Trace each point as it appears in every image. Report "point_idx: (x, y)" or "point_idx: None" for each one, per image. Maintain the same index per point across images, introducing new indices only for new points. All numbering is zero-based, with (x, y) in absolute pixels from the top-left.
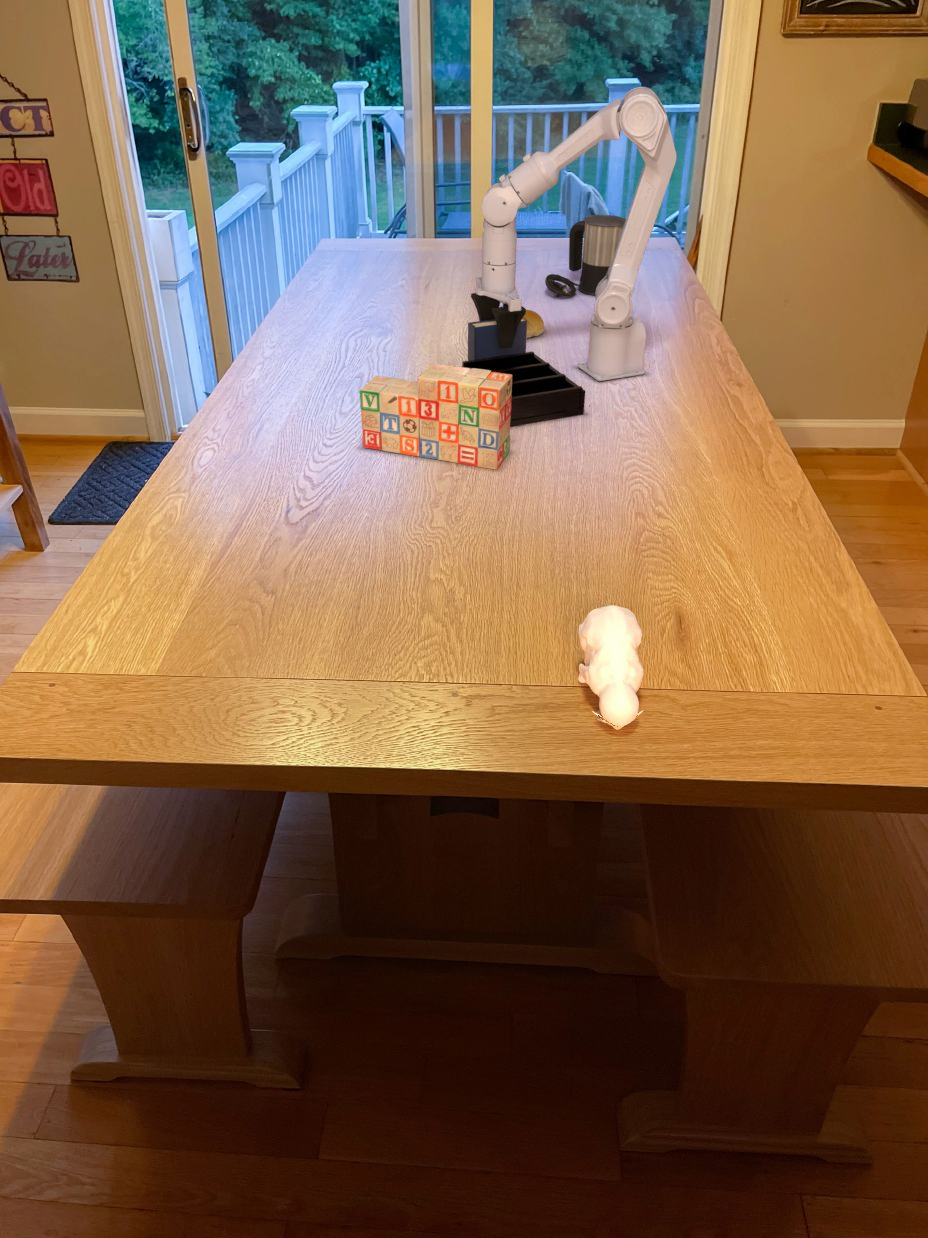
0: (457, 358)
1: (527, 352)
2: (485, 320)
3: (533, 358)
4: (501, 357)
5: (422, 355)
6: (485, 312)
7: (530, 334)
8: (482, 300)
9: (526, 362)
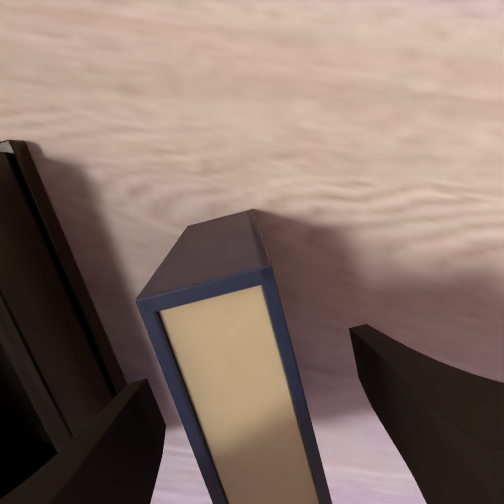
0: (361, 179)
1: None
2: (299, 393)
3: None
4: (13, 365)
5: (437, 15)
6: (412, 423)
7: None
8: (476, 494)
9: None
